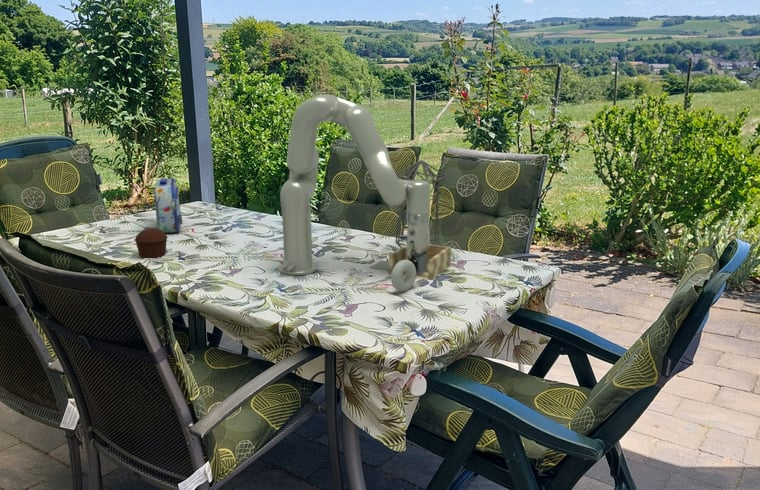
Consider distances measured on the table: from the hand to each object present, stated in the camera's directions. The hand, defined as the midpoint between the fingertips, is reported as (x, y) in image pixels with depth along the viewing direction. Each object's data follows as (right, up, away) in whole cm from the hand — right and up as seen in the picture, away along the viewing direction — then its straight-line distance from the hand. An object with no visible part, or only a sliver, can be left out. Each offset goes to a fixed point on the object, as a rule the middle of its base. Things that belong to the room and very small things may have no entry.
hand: (417, 269), depth 225 cm
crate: (+1, -1, +3) cm, 3 cm away
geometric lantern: (+2, +4, +23) cm, 23 cm away
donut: (-5, -6, -17) cm, 19 cm away
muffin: (-96, +4, +21) cm, 98 cm away
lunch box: (-102, +15, +61) cm, 120 cm away
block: (0, -1, 0) cm, 1 cm away
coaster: (-10, 0, +7) cm, 12 cm away
